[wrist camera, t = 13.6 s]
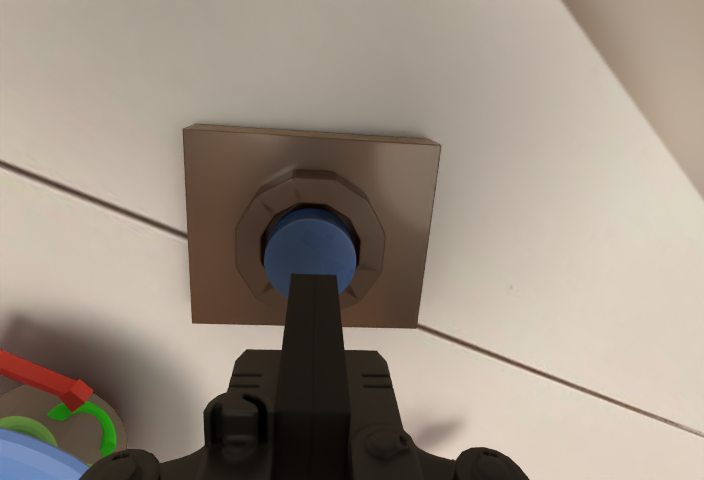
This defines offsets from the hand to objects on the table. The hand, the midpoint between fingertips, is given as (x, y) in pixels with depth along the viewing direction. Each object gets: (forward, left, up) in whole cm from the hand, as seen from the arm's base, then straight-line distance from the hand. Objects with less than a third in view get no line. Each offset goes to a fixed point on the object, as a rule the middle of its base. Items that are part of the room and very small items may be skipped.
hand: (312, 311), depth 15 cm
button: (0, 0, -7) cm, 7 cm away
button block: (0, 0, -10) cm, 10 cm away
